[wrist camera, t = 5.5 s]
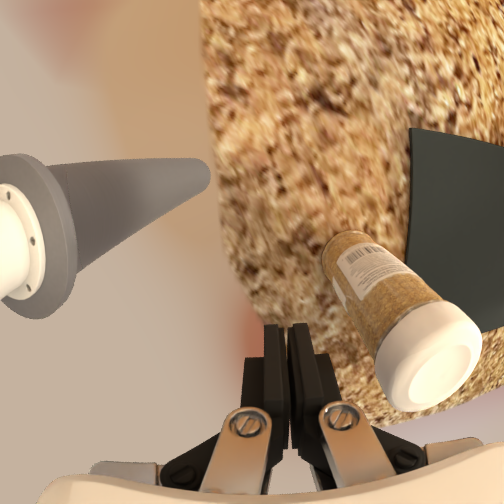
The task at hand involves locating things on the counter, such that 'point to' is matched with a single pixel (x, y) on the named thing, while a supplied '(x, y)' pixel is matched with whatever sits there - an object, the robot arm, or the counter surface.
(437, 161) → the mat
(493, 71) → the counter surface
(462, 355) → the sprinkles bottle
